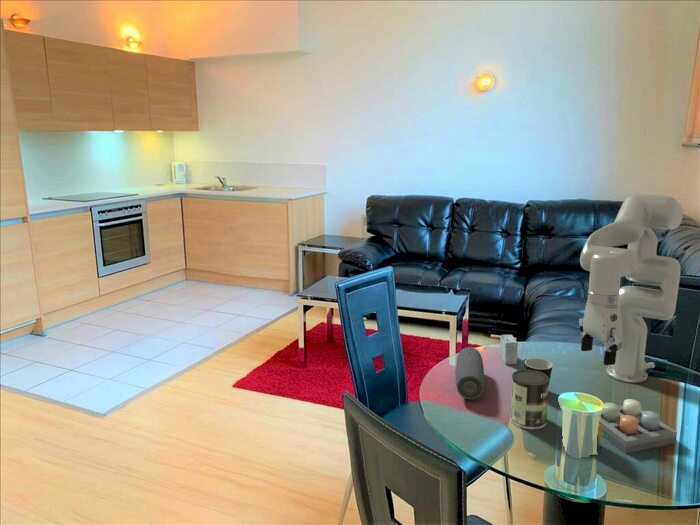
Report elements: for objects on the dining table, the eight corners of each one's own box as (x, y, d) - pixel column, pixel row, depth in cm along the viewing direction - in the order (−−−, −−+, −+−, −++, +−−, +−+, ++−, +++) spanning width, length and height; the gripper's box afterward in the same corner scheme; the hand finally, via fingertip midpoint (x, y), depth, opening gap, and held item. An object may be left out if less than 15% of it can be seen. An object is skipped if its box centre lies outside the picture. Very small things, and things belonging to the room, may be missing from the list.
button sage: (611, 411, 156) (612, 401, 155) (622, 419, 152) (623, 409, 151) (598, 414, 155) (599, 404, 154) (609, 421, 151) (610, 411, 150)
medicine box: (517, 364, 196) (518, 342, 194) (504, 365, 196) (505, 342, 194) (511, 355, 204) (512, 334, 202) (499, 356, 204) (500, 334, 202)
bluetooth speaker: (455, 370, 193) (456, 344, 191) (482, 372, 191) (483, 346, 189) (454, 402, 172) (455, 373, 169) (484, 404, 170) (485, 375, 167)
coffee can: (550, 416, 161) (553, 373, 158) (542, 433, 153) (544, 388, 149) (515, 408, 167) (517, 366, 163) (505, 423, 158) (507, 380, 155)
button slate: (650, 420, 151) (651, 409, 150) (663, 428, 147) (664, 417, 146) (637, 422, 150) (638, 412, 149) (649, 431, 146) (650, 420, 145)
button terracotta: (629, 424, 149) (630, 413, 149) (641, 432, 145) (642, 422, 144) (615, 426, 148) (616, 416, 148) (627, 435, 144) (628, 424, 143)
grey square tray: (631, 414, 161) (632, 403, 160) (675, 443, 146) (676, 431, 145) (585, 422, 157) (586, 411, 157) (625, 453, 142) (626, 441, 142)
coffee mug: (552, 398, 171) (554, 370, 169) (524, 397, 173) (526, 368, 171) (547, 382, 182) (549, 354, 180) (520, 380, 184) (522, 353, 182)
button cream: (632, 408, 158) (633, 398, 157) (643, 415, 153) (644, 405, 153) (619, 410, 157) (620, 400, 156) (630, 418, 152) (631, 407, 152)
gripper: (638, 306, 138) (631, 368, 142) (594, 288, 154) (589, 344, 158) (612, 309, 136) (606, 371, 140) (571, 290, 153) (566, 346, 157)
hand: (597, 357), depth 149 cm, fingers open, 9 cm apart
